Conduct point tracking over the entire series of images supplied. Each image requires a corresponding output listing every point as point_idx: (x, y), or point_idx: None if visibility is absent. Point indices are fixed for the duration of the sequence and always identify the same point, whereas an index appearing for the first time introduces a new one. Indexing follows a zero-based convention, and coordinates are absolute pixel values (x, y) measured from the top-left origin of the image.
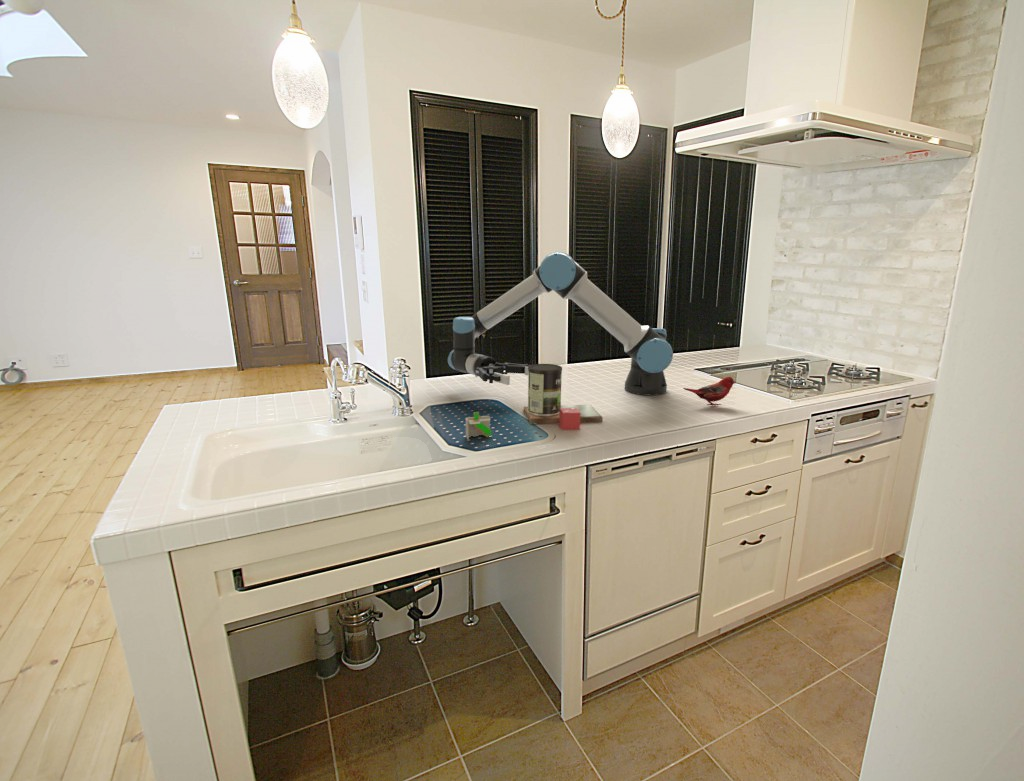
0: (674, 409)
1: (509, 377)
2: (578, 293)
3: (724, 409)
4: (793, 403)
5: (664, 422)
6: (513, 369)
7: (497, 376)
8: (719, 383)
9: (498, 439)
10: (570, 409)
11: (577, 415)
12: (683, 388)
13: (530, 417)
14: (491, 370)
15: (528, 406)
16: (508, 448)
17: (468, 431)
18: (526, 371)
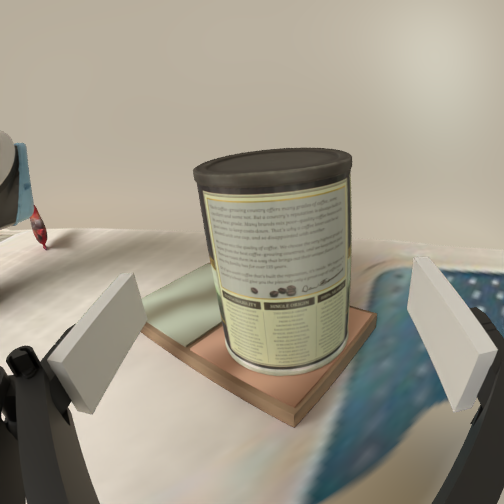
0: (73, 258)
1: (413, 265)
2: None
3: (58, 241)
4: (25, 231)
5: (151, 242)
6: (77, 482)
7: (477, 317)
8: (36, 213)
9: (492, 293)
10: None
11: None
12: (43, 230)
13: (367, 321)
14: (483, 464)
15: (343, 330)
16: (482, 265)
17: None
18: (88, 378)
